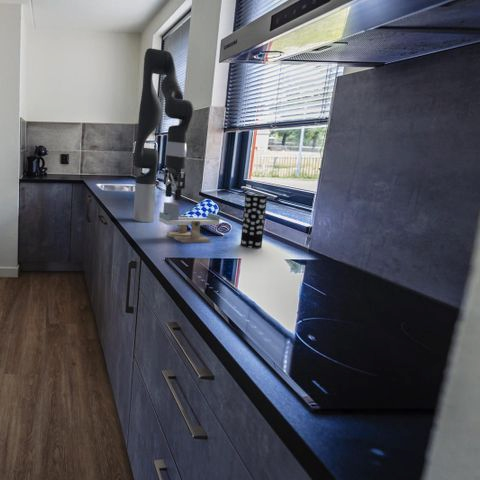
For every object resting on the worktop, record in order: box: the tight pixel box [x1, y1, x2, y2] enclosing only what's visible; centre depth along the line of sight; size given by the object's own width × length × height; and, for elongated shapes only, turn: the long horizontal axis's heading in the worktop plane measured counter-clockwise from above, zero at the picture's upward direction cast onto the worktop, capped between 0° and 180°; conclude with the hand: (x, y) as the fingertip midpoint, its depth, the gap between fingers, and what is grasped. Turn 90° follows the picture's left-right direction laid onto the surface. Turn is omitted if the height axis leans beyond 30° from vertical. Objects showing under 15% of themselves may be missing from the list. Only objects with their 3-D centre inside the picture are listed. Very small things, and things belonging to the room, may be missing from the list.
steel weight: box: [162, 201, 180, 220], centre depth 164 cm, size 4×4×6 cm
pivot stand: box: [166, 215, 211, 244], centre depth 170 cm, size 14×12×8 cm
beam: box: [158, 211, 221, 226], centre depth 169 cm, size 9×22×4 cm, turn 122°
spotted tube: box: [239, 192, 268, 249], centre depth 167 cm, size 8×8×20 cm
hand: (172, 198), depth 163 cm, fingers open, 8 cm apart
